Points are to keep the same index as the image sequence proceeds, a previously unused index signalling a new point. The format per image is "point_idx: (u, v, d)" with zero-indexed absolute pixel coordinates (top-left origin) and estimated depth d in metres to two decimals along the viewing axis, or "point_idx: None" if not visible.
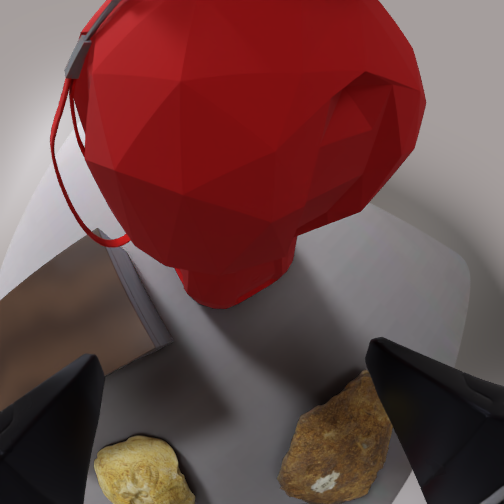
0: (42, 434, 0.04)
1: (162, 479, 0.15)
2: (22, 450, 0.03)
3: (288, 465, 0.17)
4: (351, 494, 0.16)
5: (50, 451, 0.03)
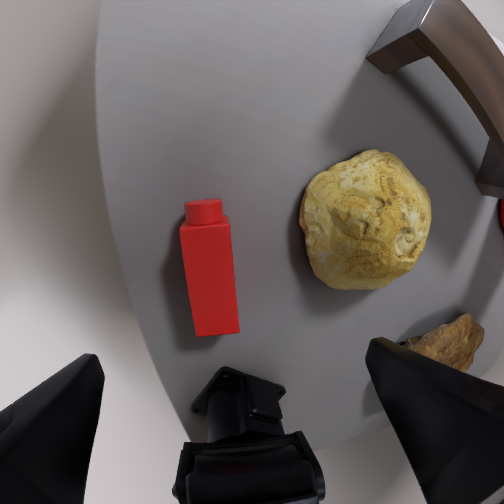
0: (43, 433, 0.04)
1: None
2: (22, 450, 0.03)
3: (444, 332, 0.20)
4: None
5: (50, 451, 0.03)
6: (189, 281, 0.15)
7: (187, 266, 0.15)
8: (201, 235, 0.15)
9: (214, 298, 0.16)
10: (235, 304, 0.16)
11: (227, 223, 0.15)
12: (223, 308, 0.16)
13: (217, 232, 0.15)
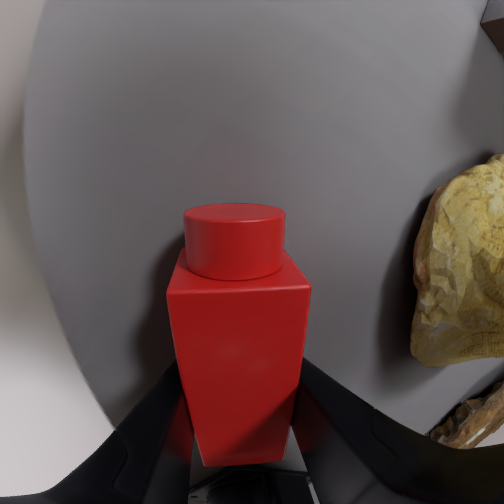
0: (161, 457, 0.04)
1: None
2: (155, 485, 0.03)
3: None
4: None
5: (171, 475, 0.04)
6: (192, 402, 0.06)
7: (188, 377, 0.05)
8: (228, 310, 0.05)
9: (247, 426, 0.06)
10: (287, 431, 0.07)
11: (303, 280, 0.05)
12: (262, 437, 0.07)
13: (276, 306, 0.05)
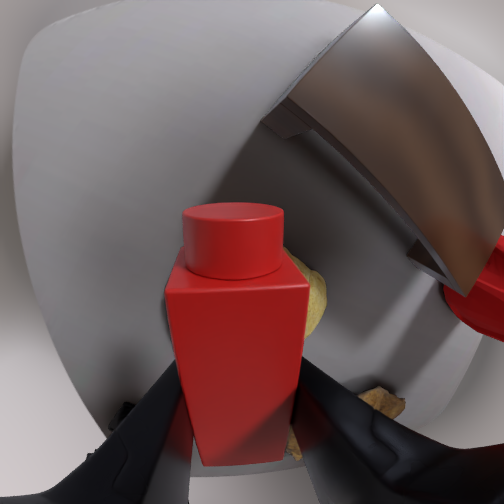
0: (161, 457, 0.04)
1: None
2: (156, 485, 0.03)
3: None
4: None
5: (171, 475, 0.04)
6: (191, 402, 0.06)
7: (187, 377, 0.05)
8: (228, 310, 0.05)
9: (246, 427, 0.06)
10: (286, 431, 0.07)
11: (303, 279, 0.05)
12: (262, 437, 0.07)
13: (275, 305, 0.05)
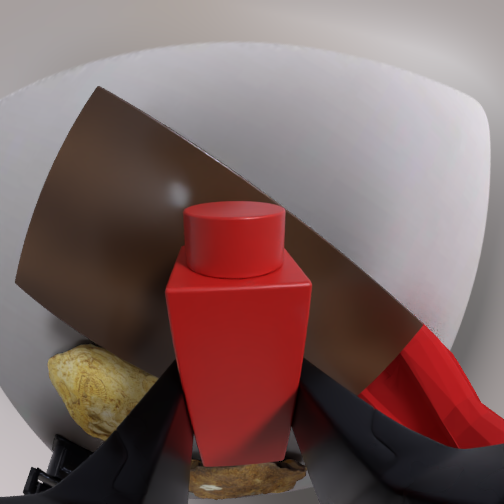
0: (161, 457, 0.04)
1: None
2: (155, 485, 0.03)
3: (218, 472, 0.20)
4: (203, 495, 0.22)
5: (171, 475, 0.04)
6: (192, 402, 0.06)
7: (187, 377, 0.05)
8: (228, 309, 0.05)
9: (247, 426, 0.06)
10: (288, 431, 0.07)
11: (304, 278, 0.05)
12: (263, 437, 0.07)
13: (277, 304, 0.05)
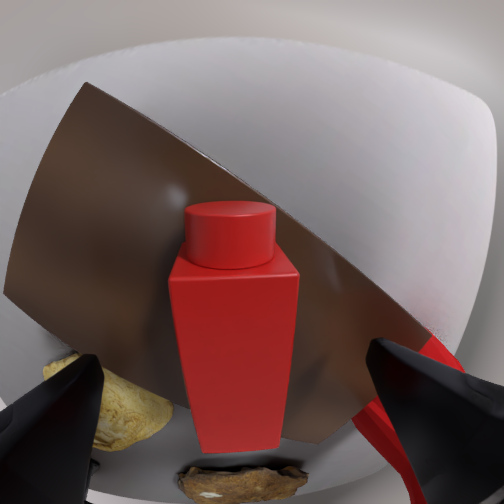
0: (42, 434, 0.04)
1: (139, 436, 0.16)
2: (22, 450, 0.03)
3: (218, 480, 0.19)
4: (202, 502, 0.21)
5: (50, 451, 0.03)
6: (191, 385, 0.06)
7: (187, 360, 0.06)
8: (224, 296, 0.06)
9: (242, 411, 0.07)
10: (281, 417, 0.07)
11: (292, 269, 0.06)
12: (258, 422, 0.07)
13: (267, 292, 0.06)
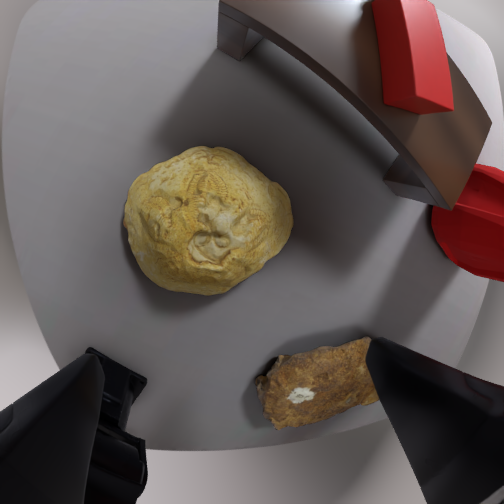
0: (43, 433, 0.04)
1: (257, 252, 0.17)
2: (22, 450, 0.03)
3: (321, 357, 0.20)
4: (282, 420, 0.22)
5: (50, 451, 0.03)
6: (409, 27, 0.07)
7: (406, 13, 0.07)
8: None
9: (432, 56, 0.08)
10: (449, 73, 0.08)
11: None
12: (440, 71, 0.08)
13: (426, 4, 0.07)
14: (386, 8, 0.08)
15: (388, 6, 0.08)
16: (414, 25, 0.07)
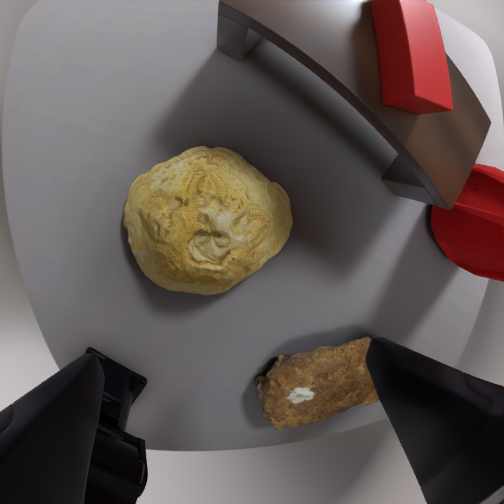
0: (42, 434, 0.04)
1: (257, 251, 0.17)
2: (22, 450, 0.03)
3: (321, 356, 0.20)
4: (282, 420, 0.22)
5: (50, 451, 0.03)
6: (408, 27, 0.08)
7: (405, 13, 0.07)
8: None
9: (431, 56, 0.08)
10: (448, 73, 0.08)
11: None
12: (439, 71, 0.08)
13: (425, 4, 0.07)
14: (385, 8, 0.08)
15: (387, 6, 0.08)
16: (413, 25, 0.07)
